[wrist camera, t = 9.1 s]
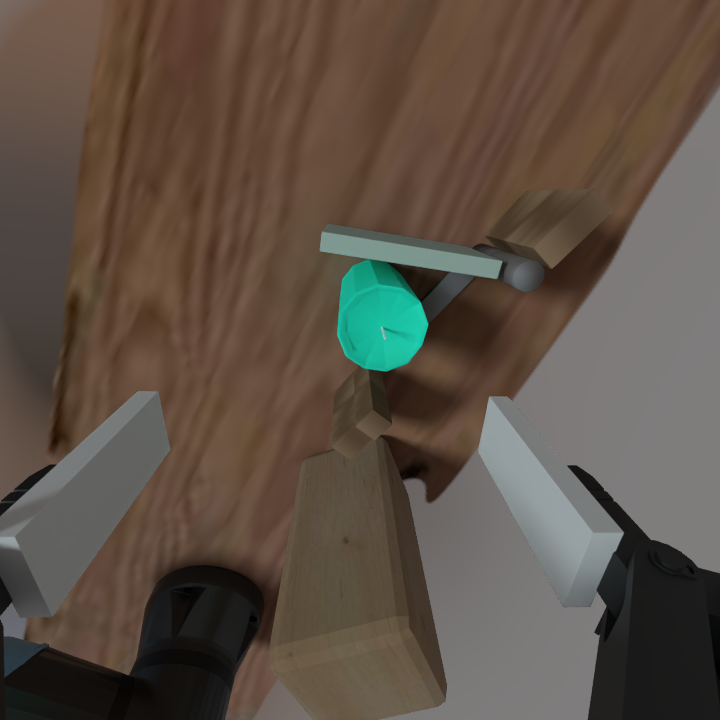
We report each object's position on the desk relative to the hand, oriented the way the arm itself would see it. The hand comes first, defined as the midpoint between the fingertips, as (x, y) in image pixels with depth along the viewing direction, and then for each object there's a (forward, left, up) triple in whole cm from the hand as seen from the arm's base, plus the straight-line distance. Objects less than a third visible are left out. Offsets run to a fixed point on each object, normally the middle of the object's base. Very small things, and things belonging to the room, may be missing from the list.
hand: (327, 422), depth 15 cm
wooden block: (-15, -15, -21) cm, 30 cm away
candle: (+2, -2, -21) cm, 21 cm away
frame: (+5, -7, -20) cm, 22 cm away
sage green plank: (+7, -1, -20) cm, 21 cm away
